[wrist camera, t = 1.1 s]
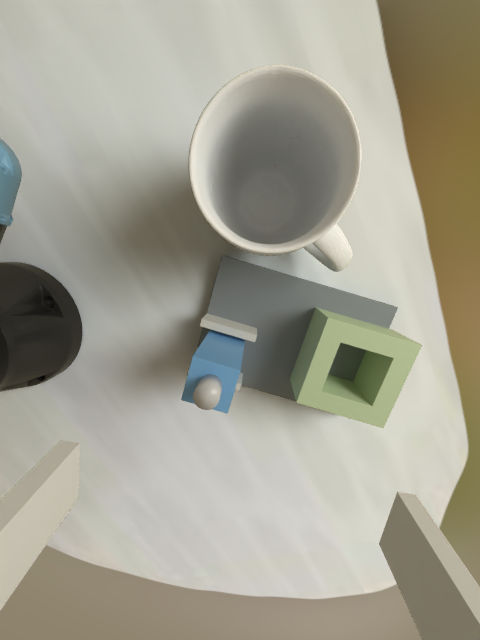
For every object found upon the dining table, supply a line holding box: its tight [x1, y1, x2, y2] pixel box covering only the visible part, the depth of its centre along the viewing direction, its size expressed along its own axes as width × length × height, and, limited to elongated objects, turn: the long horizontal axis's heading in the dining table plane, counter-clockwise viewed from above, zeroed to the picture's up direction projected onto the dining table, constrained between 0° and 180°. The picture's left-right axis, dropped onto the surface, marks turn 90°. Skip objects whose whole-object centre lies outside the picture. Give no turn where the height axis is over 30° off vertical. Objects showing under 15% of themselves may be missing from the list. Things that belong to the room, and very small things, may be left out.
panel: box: [187, 256, 398, 401], centre depth 31 cm, size 20×14×4 cm
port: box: [290, 307, 422, 428], centre depth 29 cm, size 9×9×6 cm
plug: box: [181, 329, 245, 413], centre depth 26 cm, size 4×4×12 cm
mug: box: [189, 65, 361, 272], centre depth 24 cm, size 15×11×13 cm
